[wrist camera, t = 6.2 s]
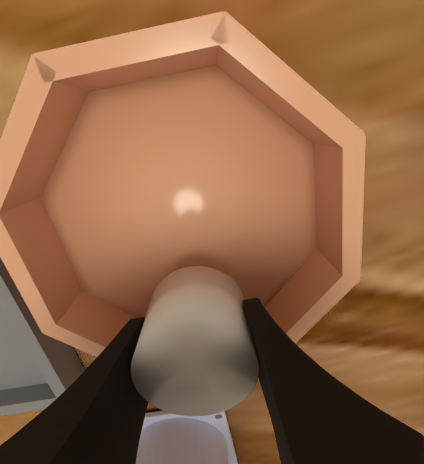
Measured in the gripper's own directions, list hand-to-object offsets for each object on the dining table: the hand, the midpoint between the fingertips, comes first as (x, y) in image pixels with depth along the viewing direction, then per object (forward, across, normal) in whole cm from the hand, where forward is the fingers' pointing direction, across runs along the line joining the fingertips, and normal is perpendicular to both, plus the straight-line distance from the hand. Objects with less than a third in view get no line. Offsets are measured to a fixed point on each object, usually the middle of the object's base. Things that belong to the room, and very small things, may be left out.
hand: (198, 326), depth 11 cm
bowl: (+4, 0, -4) cm, 5 cm away
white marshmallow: (+1, 0, 0) cm, 1 cm away
